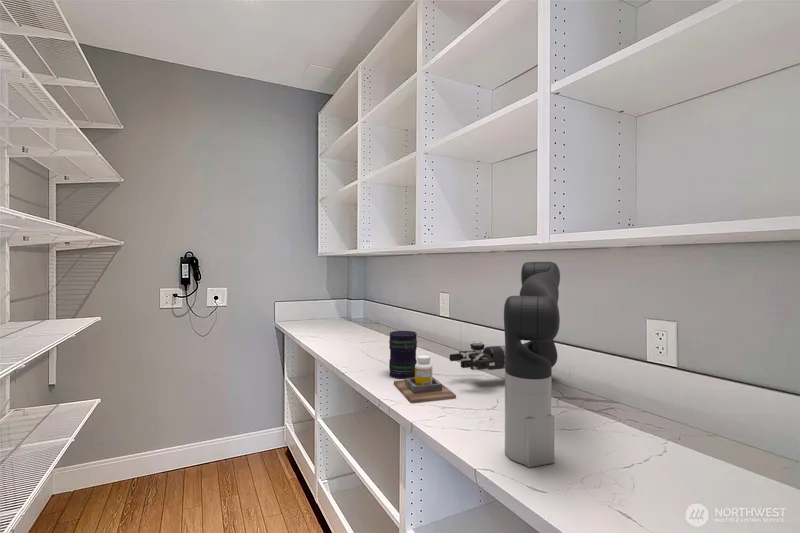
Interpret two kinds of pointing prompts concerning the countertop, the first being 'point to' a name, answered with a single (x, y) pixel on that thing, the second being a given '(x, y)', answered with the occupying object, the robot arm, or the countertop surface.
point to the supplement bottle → (423, 371)
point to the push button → (477, 347)
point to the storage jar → (402, 354)
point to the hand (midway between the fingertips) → (455, 361)
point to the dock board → (423, 391)
